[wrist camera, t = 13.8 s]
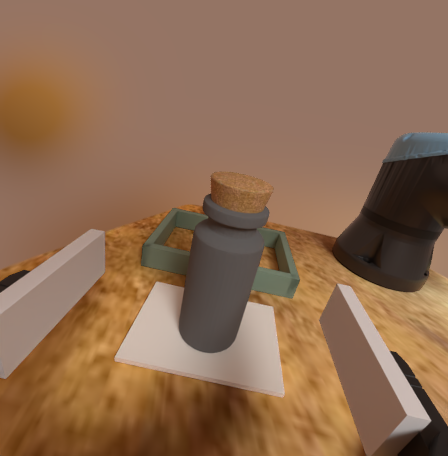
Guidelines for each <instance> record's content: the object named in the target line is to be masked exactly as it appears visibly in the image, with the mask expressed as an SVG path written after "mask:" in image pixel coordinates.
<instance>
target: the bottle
mask: <svg viewBox="0 0 448 456" xmlns="http://www.w3.org/2000/svg"><path fill="white" fill-rule="evenodd" d="M273 190H274V188H273V187H272V186H271V185H270V184H268V183H267V182H265V181H263V180H261V179H258V178H255V177H252V176H248V175H244V174H239V173H233V172H215V173H213V174H212V175H211V194H209V195H207V196H206V197H205V198H204V202H203V211H204V213H205V214H206V215H207V216H208V218H207V219H205V220H203V221H201V222H199V223H198V224H197V225H196V227H195V229H194V234H193V239H192V245H191V250H190V256H189V263H188V269H187V275H186V281H185V287H184V293H183V299H182V305H181V312H180V318H179V331H180V335H181V337H182V339H183V340H184V341H185V342H186V343H187V344H188V345H189V346H190V347H192V348H193V349H195V350H198V351H201V352H205V353H217V352H221V351H223V350H226V349H227V348H229V347H230V346H231V345H232V344H233V342H234V341H235V339H236V336H237V333H238V331H239V327H240V324H241V321H242V318H243V315H244V311H245V308H246V305H247V302H248V299H249V295H250V292H251V289H252V286H253V283H254V279H255V276H256V273H257V269H258V266H259V263H260V259H261V256H262V252H263V249H264V245H265V242H264V239H263V237H262V235H261V234H260V232H259V231H258V230H257V228H261V227H263V226H264V225H265V224H266V223H267V220H268V217H269V210H268V208H267V207H266V204H267V202H268V200H269V198H270V196H271V194H272V193H273Z"/></svg>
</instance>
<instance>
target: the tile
mask: <svg viewBox="0 0 448 456" xmlns="http://www.w3.org/2000/svg"><path fill="white" fill-rule="evenodd" d="M183 293H184V287H179V286H175V285H170V284H166V283H161V282H156V283H155V285H154V287H153V289H152V290H151V292H150V294H149V296H148V298H147V299H146V301H145V303H144V305H143V307H142V309H141V310H140V312H139V314H138V316H137V318H136V319H135V321H134V323H133V325H132V327H131V328H130V330H129V332H128V334H127V336H126V338H125V339H124V341H123V343H122V345H121V347H120V348H119V350H118V352H117V354H116V356H115V361H116V362H121V363H126V364H130V365H135V366H139V367H144V368H149V369H153V370H158V371H162V372H167V373H172V374H176V375H181V376H186V377H190V378H195V379H199V380H204V381H209V382H213V383H218V384H222V385H227V386H232V387H236V388H241V389H245V390H250V391H255V392H259V393H264V394H269V395H273V396H278V397H282V398H283V396H284V394H285V392H284V385H283V377H282V370H281V363H280V355H279V348H278V340H277V333H276V325H275V318H274V310H273V307H271V306H266V305H262V304H257V303H253V302H247V305H246V308H245V311H244V315H243V318H242V321H241V324H240V327H239V331H238V333H237V336H236V339H235V341H234V342H233V344H232V345H231V346H230V347H229V348H227V349H226V350H223V351H221V352H217V353H205V352H201V351H198V350H195V349H193V348H192V347H190V346H189V345H188V344H187V343H186V342H185V341H184V340H183V339H182V337H181V335H180V331H179V318H180V312H181V305H182V299H183Z"/></svg>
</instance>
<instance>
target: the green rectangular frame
mask: <svg viewBox="0 0 448 456" xmlns="http://www.w3.org/2000/svg"><path fill="white" fill-rule="evenodd" d="M207 218H208V216H207V215H204V214H200V213H195V212H190V211H186V210H181V209H177V208H173V209H172V210H171V211H170V212H169V214H168V215H167V216H166V217H165V219H164V220H163V221H162V222H161V223H160V225H159V226H158V227H157V228H156V230H155V231H154V232H153V233H152V235H151V236H150V237H149V238H148V239H147V241H146V242H145V243H144V244H143V246H142V260H141V266H146V267H150V268H155V269H159V270H164V271H168V272H173V273H178V274H182V275H187V269H188V263H189V256H190V252H189V251H185V250H180V249H176V248H171V247H167V246H163V245H164V243H165V242H166V240H167V239H168V237H169V236H170V234H171V232H172V231H173V229H174V228H175V226H176V227H180V228H185V229H189V230H194V229H195V227H196V225H197V224H198V223H199V222H201V221H203V220H205V219H207ZM257 230H258V231H259V232H260V234H261V235H262V237H263V239H264V242H265V245H264V246H267V247H271V248H275V252H276V257H277V262H278V266H279V271H276V270H272V269H267V268H262V267H258V269H257V273H256V276H255V279H254V283H253V286H252V289H251V290H255V291H260V292H265V293H269V294H274V295H278V296H283V297H287V298H293V296H294V293H295V291H296V289H297V286H298V284H299V281H300V279H299V276H298V272H297V269H296V266H295V263H294V260H293V257H292V254H291V251H290V248H289V244H288V241H287V238H286V235H285V232H281V231H277V230H272V229H268V228H263V227H261V228H257Z"/></svg>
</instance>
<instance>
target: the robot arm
mask: <svg viewBox="0 0 448 456" xmlns="http://www.w3.org/2000/svg"><path fill="white" fill-rule="evenodd" d="M382 163H383V165H382V167H381V169H380V171H379V174H378V176H377V178H376V180H375V182H374V185H373V186H372V189H371V191H370V193H369V195H368V197H367V199H366V202H365V204H364V206H363V208H362V210H361V212H360V214H359V216H358V217H357V218H356V219H355V220H354V221H353V222H352V223H351V224H350V225H349V226H348V227H347V229H345V231H344V232H343V233H342V234H341V235H340V236H339V237H338V238H337V240H336V242H335V244H334V246H333V253H334V255H335V257H336V258H337V259H338V260H339V261H340V262H341V263H342V264H343V265H344V266H346V267H347V268H348V269H350V270H351V271H353V272H354V273H356V274H358V275H359V276H361V277H363V278H365V279H367V280H369V281H371V282H374V283H376V284H378V285H381V286H384V287H387V288H390V289H394V290H398V291H404V292H415V291H419V290H420V289H421V288H422V287H423V285H424V284H425V282H426V281H427V279H428V277H429V268H430V264H431V260H432V254H433V249H434V244H435V242H436V240H437V239H438V237H439V236H440V234H441V233H442V231H443V230H444V228H447V229H448V133H408V134H404V135H402V136H400V137H399V138H397V139H396V141H395V142H394V144H393V145H392V147H391V149H390V151H389V153H388V155H387V157H386V158H385V159H384V160H383V162H382ZM104 273H105V232H104V231H100V230H95V229H90V230H89V231H87V232H86V233H84V234H83V235H82V236H80V237H79V238H77V239H76V240H75V241H73V242H72V243H70V244H69V245H67V246H66V247H65V248H63V249H62V250H60V251H59V252H58V253H56V254H55V255H53V256H52V257H50V258H49V259H48V260H46V261H45V262H43V263H42V264H41V265H39V266H38V267H36V268H35V269H33V270H32V271H27V270H23V271H20V272H18V273H15V274H12V275H10V276H8V277H7V278H5V279H4V280H2V281H1V282H0V378H4V379H6V378H7V377H8V376H9V375H10V374H11V373H12V372H13V371H14V370H15V369H16V368H17V366H18V365H19V364H20V363H21V362H22V361H23V360H24V359H25V358H26V357H27V356H28V355H29V354H30V352H31V351H32V350H33V349H34V348H35V347H36V346H37V345H38V344H39V343H40V342H41V341H42V340H43V338H44V337H45V336H46V335H47V334H48V333H49V332H50V331H51V330H52V329H53V328H54V327H55V326H56V325H57V323H58V322H59V321H60V320H61V319H62V318H63V317H64V316H65V315H66V314H67V313H68V312H69V311H70V309H71V308H72V307H73V306H74V305H75V304H76V303H77V302H78V301H79V300H80V299H81V298H82V297H83V295H84V294H85V293H86V292H87V291H88V290H89V289H90V288H91V287H92V286H93V285H94V284H95V283H96V281H97V280H98V279H99V278H100V277H101V276H102V275H103V274H104ZM319 321H320V324H321V327H322V330H323V333H324V336H325V338H326V341H327V344H328V347H329V350H330V353H331V356H332V359H333V361H334V364H335V367H336V370H337V373H338V376H339V379H340V382H341V385H342V387H343V390H344V393H345V396H346V399H347V402H348V405H349V408H350V410H351V413H352V416H353V419H354V422H355V425H356V428H357V431H358V433H359V436H360V439H361V442H362V445H363V448H364V451H365V454H366V456H448V426H447V424H446V423H445V421H444V420H443V418H442V417H441V415H440V414H439V412H438V411H437V409H436V407H435V406H434V404H433V403H432V401H431V400H430V398H429V397H428V395H427V393H426V392H425V390H424V389H422V386H421V384H420V383H419V381H418V379H416V378H415V375H414V373H413V372H412V370H411V369H410V367H409V366H408V364H407V363H406V362H405V361H404V360H403V359H402V358H401V357H400V356H399V355H398V354H397V353H396V352H393V351H389V349H388V348H387V346H386V344H385V343H384V341H383V339H382V338H381V336H380V335H379V333H378V331H377V330H376V328H375V326H374V325H373V323H372V321H371V320H370V318H369V316H368V315H367V313H366V311H365V310H364V308H363V306H362V305H361V303H360V301H359V300H358V298H357V296H356V295H355V293H354V291H353V290H352V288H351V286H346V285H342V284H336V287H335V289H334V291H333V293H332V295H331V297H330V299H329V301H328V303H327V305H326V307H325V309H324V311H323V313H322V315H321V317H320V319H319Z"/></svg>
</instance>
